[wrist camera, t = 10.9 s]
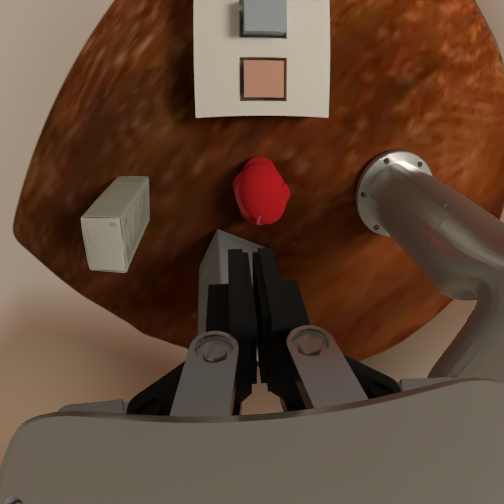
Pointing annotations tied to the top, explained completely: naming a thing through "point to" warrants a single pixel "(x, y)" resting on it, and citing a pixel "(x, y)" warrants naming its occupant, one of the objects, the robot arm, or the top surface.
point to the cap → (260, 192)
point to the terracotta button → (263, 78)
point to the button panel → (261, 48)
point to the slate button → (264, 17)
